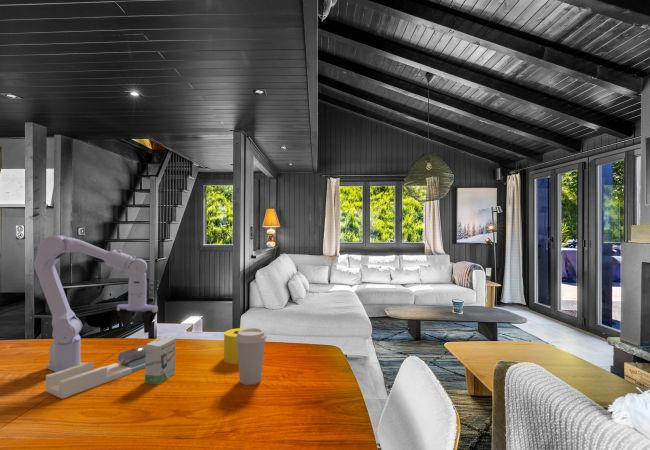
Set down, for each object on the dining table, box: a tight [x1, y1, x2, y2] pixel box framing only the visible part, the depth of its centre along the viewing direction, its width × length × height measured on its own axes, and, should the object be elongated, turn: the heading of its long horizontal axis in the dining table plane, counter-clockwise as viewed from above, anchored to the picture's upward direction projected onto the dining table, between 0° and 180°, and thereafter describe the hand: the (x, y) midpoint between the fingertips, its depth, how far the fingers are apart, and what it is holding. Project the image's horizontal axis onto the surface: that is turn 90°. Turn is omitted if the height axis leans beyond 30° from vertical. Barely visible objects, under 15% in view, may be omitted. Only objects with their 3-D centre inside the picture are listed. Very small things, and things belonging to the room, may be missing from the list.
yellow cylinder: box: [223, 327, 246, 365], centre depth 130 cm, size 10×10×9 cm
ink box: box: [144, 336, 177, 386], centre depth 113 cm, size 9×5×12 cm, turn 168°
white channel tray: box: [45, 361, 133, 400], centre depth 110 cm, size 9×20×4 cm, turn 151°
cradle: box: [119, 357, 146, 373], centre depth 122 cm, size 8×7×2 cm
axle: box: [117, 344, 147, 365], centre depth 122 cm, size 10×4×4 cm, turn 153°
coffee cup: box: [235, 327, 267, 386], centre depth 112 cm, size 10×10×15 cm
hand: (137, 331), depth 128 cm, fingers open, 7 cm apart
